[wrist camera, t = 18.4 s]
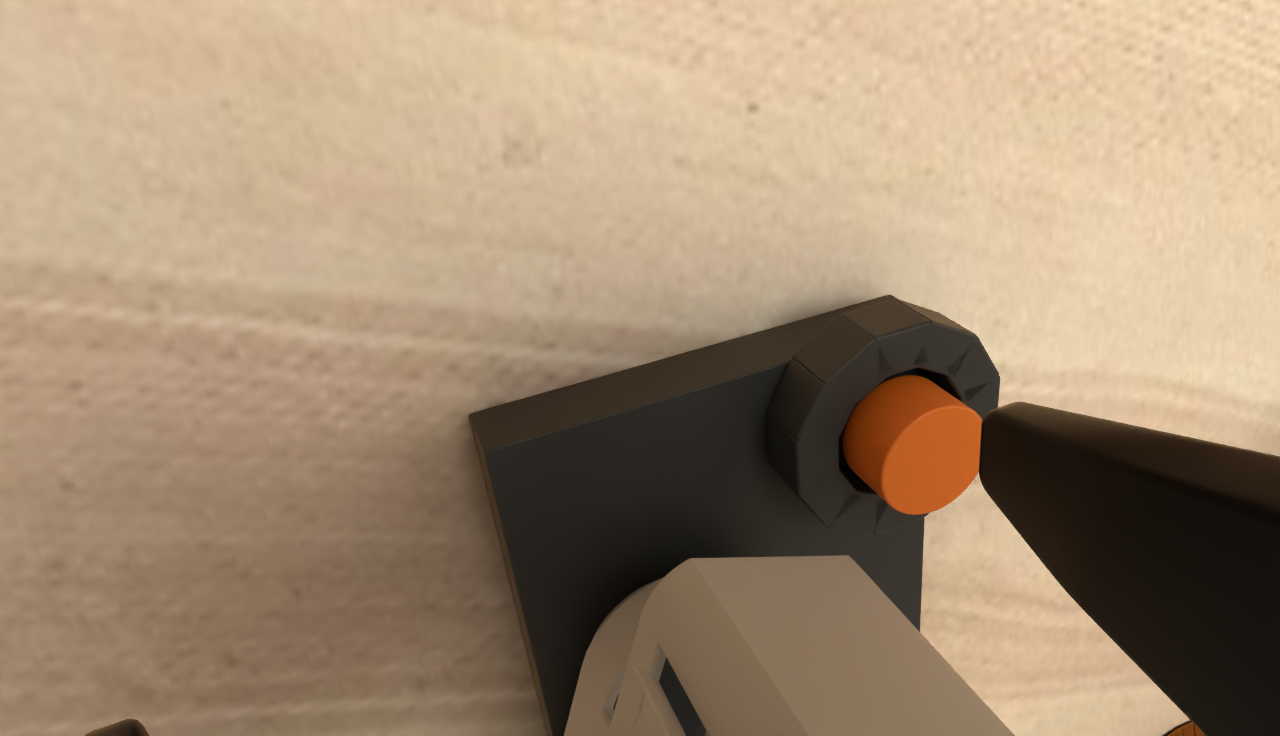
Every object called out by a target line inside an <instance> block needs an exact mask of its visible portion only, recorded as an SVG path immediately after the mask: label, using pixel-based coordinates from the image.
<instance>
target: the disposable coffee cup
mask: <svg viewBox="0 0 1280 736" xmlns="http://www.w3.org/2000/svg"><path fill="white" fill-rule="evenodd" d="M1167 736H1206V735H1205V734H1204V733H1203V732H1202V731H1201V730H1200V729H1199V728H1198V727H1197V726H1196V725H1195V724H1194V723H1193V722H1190V723H1188V724H1186V725H1184V726H1182V727H1180V728H1178V729H1176V730H1175V731H1173V732H1172V733H1170V734H1169V735H1167Z"/></svg>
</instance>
